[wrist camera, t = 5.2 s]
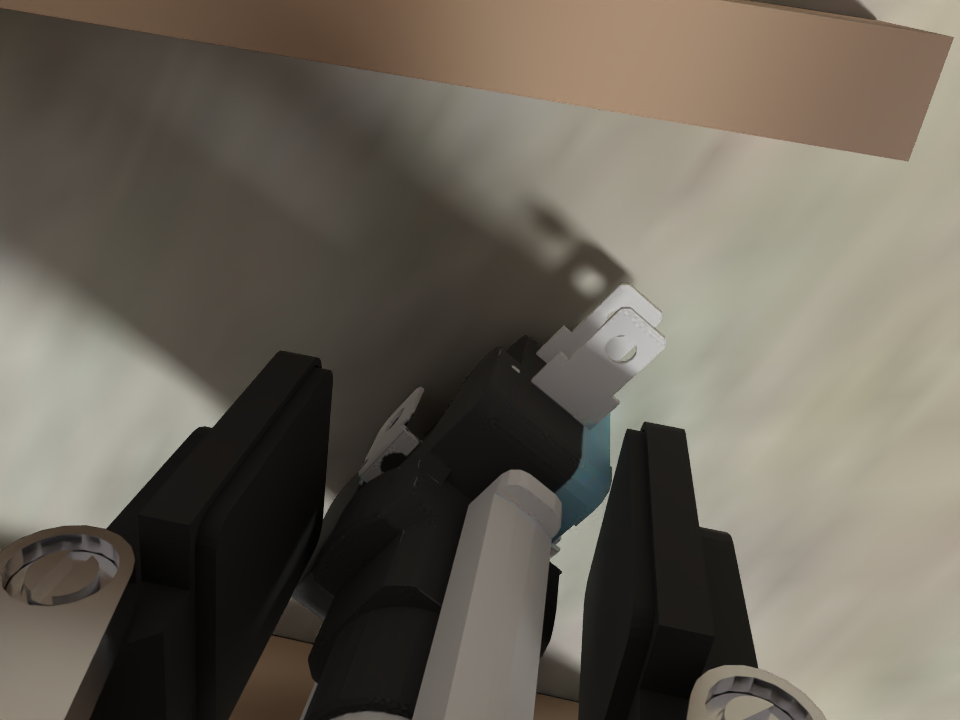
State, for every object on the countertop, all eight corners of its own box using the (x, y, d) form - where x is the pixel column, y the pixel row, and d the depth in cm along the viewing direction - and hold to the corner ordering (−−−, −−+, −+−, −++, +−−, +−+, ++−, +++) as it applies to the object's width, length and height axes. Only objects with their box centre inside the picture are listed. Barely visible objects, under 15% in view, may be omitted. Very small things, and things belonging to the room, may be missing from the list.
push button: (509, 165, 12) (177, 809, 3) (777, 401, 13) (1183, 1459, 4) (256, 457, 14) (-325, 1263, 5) (492, 635, 15) (326, 1574, 6)
